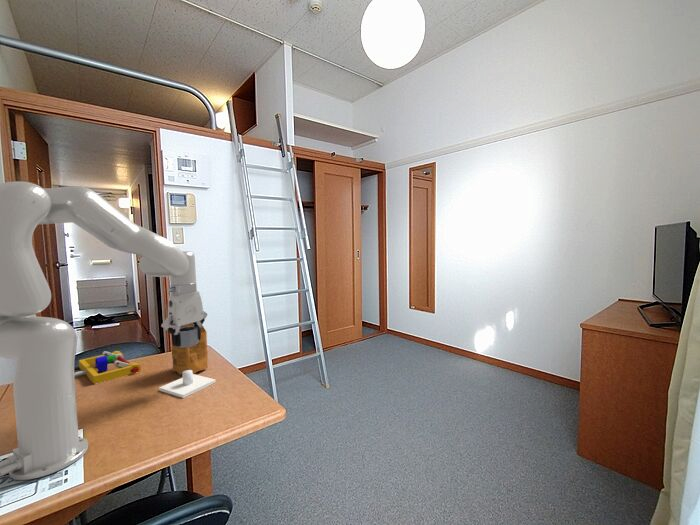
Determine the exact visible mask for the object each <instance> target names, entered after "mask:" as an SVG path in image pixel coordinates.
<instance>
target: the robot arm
mask: <svg viewBox="0 0 700 525" xmlns="http://www.w3.org/2000/svg"><path fill="white" fill-rule="evenodd" d="M68 223H69V224H70V223H71V224H72V223H73V224H75V225H77V227H79V228H81V229H82V230H84V231H85V232H87V233H88V234H90V235H91V236H92V237H94V238H96V239H97V240H99V241H100V242H101V243H103V244H105V245H106V246H107V247H109V248H111V249H113V250H117V251H120V252H123V253H127V254H133V255H136V256H140V257H141V258H140V260H139V263H138V267H139V270H140V272H142V273H143V274H144V275H147V276H149V277H154V278H155V277H158V278H164V277H165V278H169V283H170V284H169V287H167V289H166V290H167V292H168V293H170V294H168V299H167V300H168V302H167V317H166V318H165V320H163V322H162V323H161V326H160V327H161V328H163V329H164V330H165V332H167V333H169V334H170V335H171V345H172V344H173V346H177V347H180V346H181V339H180V334H178V333H179V330H180V327H181V326H184V325H188V324H191V323H192V324H193V325H194V327H198V338H199V340H200V339H201V329H200V328H201V327H202V325H203V324H204V322H205V320H206V318H207V317H208V313H207V312H206V311H204V307H203V302H202V301H203V300H202V296H201V294H200V291H198V289H197V274H196V257H195V253H194V252H193V251H190V250H189V251H186V250H185V251H184V250H183V251H182V249H180V247H178V246H176V245H175V244H174V243H173V242H171V241H170V240H168V239H167V238H166V237H163V236H161V235H160V234H158V233H155V232H153V231H151V230H149V229H147V228H145V227H143V226H140V225H138V224H136V223H134V222H133V221H132V220H130V219H129V218H128V217H127V216H126V215H124V214H123V213H122V212H121V211H119V210H118V209H117V208H116V207H115V206H113V204H111V203H110V202H109V201H107V200H106V199H104V197H102V196H101V195H100V194H98V193H97V192H96V191H94V190H93V189H91V188H89V187H87V186H82V185H81V186H79V185H74V186H73V185H72V186H62V187H52V188H51V187H50V188H46V187H44V188H43V187H42V186H40V185H38V184H36V183H33V182H30V181H22V180H21V181H18V180H17V181H7V182H6V181H5V182H0V358H2V359H7V360H11V361H12V360H13V361H16V362H17V364H16V366H17V367H16V370H15V373H14V378H13V385H12V386H13V392H12V393H13V400H14V412H15V425H16V436H17V437H16V439H17V447H16V448H14V449H12V454H11V455H9V456H7V457H6V459H3V460H1V461H0V478H1V477H3V476H5V475H7V474H8V475H10V476H9V478H11V479H12V478H13V479H12V480H17V481H28V480H33V479H38V478H42V477H46V476H48V475H51V474H53V473H56V472H58V471H61V470H63V469H65V468H66V467H68V466H70V465H72V464H74V463H75V462H76V461H78V460H79V459H81V458H82V457H83V456H84V455H85V454H86V452H87V451H88V449H89V441H88V440H87V439H86V438H83V437H80V436H79V422H78V408H77V394H76V393H77V392H76V380H75V378H76V377H74V373H75V358H76V353H77V346H78V336H77V332H76V330H75V328H74V327H73V326H72V325H71V324H70V323H69V322H67V321H65V320H62V319H60V318H56V317H48V316H37V314H39V313H41V312H43V311H44V310H45V309H46V308H48V306H49V305H50V304H51V301H52V291H51V289H50V286H49V283H48V281H47V279H46V277H45V275H44V272H43V270H42V268H41V266H40V263H39V261H38V258H37V256H36V253H35V250H34V246H33V236H34V231H35V229H36V228H37V227H38V225H52V224H68ZM170 325H171V326H170Z"/></svg>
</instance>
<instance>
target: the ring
mask: <svg viewBox="0 0 700 525" xmlns="http://www.w3.org/2000/svg"><path fill="white" fill-rule="evenodd" d="M178 334H180V339H181V346H180V348H183V347H191V346H193V345H196V344H198V342H199V338H198V327H194V326H189V327H182V328H180V330H179V333H178ZM175 347H177V346H175Z"/></svg>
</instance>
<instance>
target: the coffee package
mask: <svg viewBox="0 0 700 525" xmlns="http://www.w3.org/2000/svg"><path fill="white" fill-rule="evenodd" d="M189 326H194V325H193V324H192V323H191V324H188V325H184V326H181V327H180V328H182V327H189ZM200 329H201V339H200V340H199V342H198V344H196V345H193V346H191V347H183V348H180V347H175V346H173V344H172V343H171V359H172V371H173V372H174V373H177V374H178V375H179V376H182V372H183V371H186V370H192V372H193V374H197V373H198V372H201V371H204V370H206V369H208V366H209V365H208V364H209V363H208V360H209V359H208V338H207V336H208V334H207V332H208V331H207V330H206V328H205V327H204V326H203V324H202V327H201V328H200Z"/></svg>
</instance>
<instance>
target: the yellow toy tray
mask: <svg viewBox="0 0 700 525" xmlns="http://www.w3.org/2000/svg"><path fill="white" fill-rule="evenodd" d="M111 362H113V364H114V365H115V366H116V367H120V368H117V369H113V370H108V363H111ZM78 368H79V369H80V371H79V370H78V371H76V372H75V371H74V377H75V378H76V377H80V376H83V375H85V374H86V375H87V376H88V377H89V378H90V379H89V378H88V377H87V376H86V375H85V376H86V377H87V378H88V379H89V381H91V383H92V384H93V383H94V384H95V385H97V384H96V383H99V384H101V383H100V382H103V383H105V382H104V381H106V382H109V381H108V380H110V381H113V380H116V379H115V378H117V379H119V378H118V377H121V378H123V377H122V376H124V377H126V376H125V375H128V376H130V375H129V374H131V375H134V374H133V373H135V374H137V373H136V372H138V373H140V372H141V370H142V367H141V365H140V364H138V363H137V362H129V360H126V358H124V353H123V352H121V351H119V350H115V351H112V352H109V351H103V352H102V354H101V355H94V356H91V357H88V358H82V359H79V360H78ZM82 370H83V371H82ZM105 370H107V371H105ZM101 371H104V372H101ZM98 372H100V373H98ZM112 379H113V380H112ZM94 384H93V385H94Z"/></svg>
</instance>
